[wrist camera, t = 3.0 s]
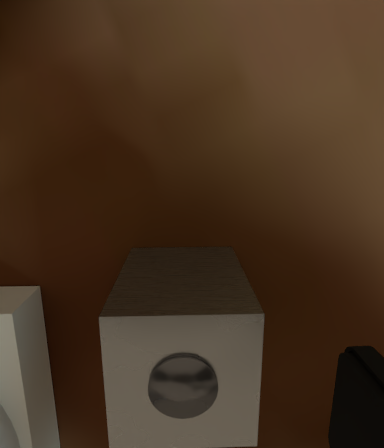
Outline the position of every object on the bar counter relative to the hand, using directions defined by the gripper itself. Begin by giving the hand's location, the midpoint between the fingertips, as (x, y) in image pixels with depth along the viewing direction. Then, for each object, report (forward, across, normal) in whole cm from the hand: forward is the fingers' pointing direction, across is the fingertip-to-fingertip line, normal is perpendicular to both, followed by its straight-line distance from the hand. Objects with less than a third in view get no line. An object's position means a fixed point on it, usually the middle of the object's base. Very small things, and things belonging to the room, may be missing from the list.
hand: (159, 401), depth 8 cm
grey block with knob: (+7, -1, +1) cm, 7 cm away
